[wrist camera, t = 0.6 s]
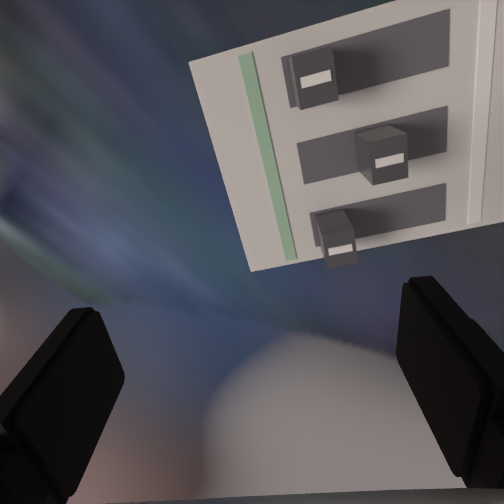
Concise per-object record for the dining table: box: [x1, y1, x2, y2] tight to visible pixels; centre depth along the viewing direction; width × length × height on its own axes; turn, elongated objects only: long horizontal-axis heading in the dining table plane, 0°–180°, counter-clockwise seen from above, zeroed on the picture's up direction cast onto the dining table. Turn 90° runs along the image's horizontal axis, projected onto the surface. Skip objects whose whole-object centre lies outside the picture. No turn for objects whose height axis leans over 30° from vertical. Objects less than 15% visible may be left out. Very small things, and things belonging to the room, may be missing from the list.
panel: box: [189, 0, 504, 272], centre depth 27 cm, size 24×18×2 cm
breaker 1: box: [287, 45, 339, 110], centre depth 22 cm, size 2×3×4 cm
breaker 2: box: [315, 209, 358, 269], centre depth 28 cm, size 2×3×4 cm
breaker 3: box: [355, 124, 408, 186], centre depth 24 cm, size 2×3×4 cm
